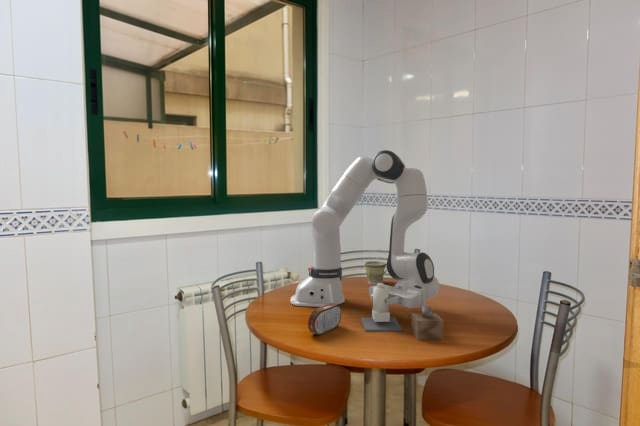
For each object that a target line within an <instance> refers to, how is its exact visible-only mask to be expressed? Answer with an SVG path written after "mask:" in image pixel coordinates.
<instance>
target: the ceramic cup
mask: <svg viewBox="0 0 640 426" xmlns="http://www.w3.org/2000/svg"><path fill="white" fill-rule="evenodd" d="M364 265H365V272H366V278H367V283H368V284H369V285H371V286H375V285H377V284H378V283H383V281H384V280H383V279H384V275H385V274H386V273H387V272H388V271H387V269H385V268H386V267H387V262H384V261H380V260H378V261H377V260H371V261H366V262H364Z"/></svg>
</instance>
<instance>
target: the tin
mask: <svg viewBox="0 0 640 426" xmlns="http://www.w3.org/2000/svg"><path fill="white" fill-rule="evenodd" d="M341 320H342V308H341V307H340V305H339V304H337V305H335V304H333V303H330V304H327V305H324V306H322V307H316V308H315V309H313V310H312V311H311V313H310V315H309V317H308V321H307V325H308V326H307V328H308V330H309V333H310V334H315V335H318V336H321V335H323V334H325V333H328V332H330V331H332V330H335V329H336V328H337V327H338V326H339V325H340V322H341Z"/></svg>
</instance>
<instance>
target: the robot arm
mask: <svg viewBox="0 0 640 426" xmlns="http://www.w3.org/2000/svg"><path fill="white" fill-rule="evenodd" d="M375 180H377V181H380V182H384V183H387V184H394V185H395V186H396V191H397V193H396V194H397V204H396V210H395V213H394V214H393V216H392V218H391V222H390V223H391V225H390V236H389V245H388V247H389V248H388V256H387V261H386V264H387V265H386V270H387V271H386V272H387V273H388V275H390V277H391V278H392V279H393V280H396V281H397V282H396V283H395V284H394V286H391V285H387V284H384V286H387V287H388V288H389V298H385V304H388V306H389V305H398V306H402V307H405V308H408V309H417V308H422V307H423V306H426V301H427V300H429V299H432V298H433V297H435V296H437V294H438V292H439V291H440V282H439V279H437V277H436V276H435V265H434V262H433V260H432V258H431V257H430V256H429V254H427V253H425V252H409V253H405V239H406V232H407V230H408V228H409V227H410V226H411V225H413V224H414V223H416V222H417V221H419V220H421V218H422V217H423V216H424V215H425V214H426V213H427V210H428V204H429V203H428V191H427V184H426V181H425V176H424V174H423V172H422V170H420V169H418V168H414V167H410V168H408V167H406V165H405V163H404V162H403V160H402V159H401V157H400V156H399V155H398V154H397V153H395V152H394V151H392V150H387V149H385V150H380V151H378V152H377V153H376V154H374V156H373V157H372V158H371V157H369V156H365V155H364V156H363V155H362V156H358V157H357V158H355V160H354V161H352V163H351V164H350V165H349V166H348V167H347V168H346V169H345V171H344V173H343V174H342V175H341V176H340V178H339V179H338V181H337V182H336V184H335V185H334V186H333V188H332V190H331V191H330V193H329V194H328V196H327V197H326V199H325V201H324V203H323V204H322V205H321V207H319V209H318V210H316V211H315V212H314V213H313V215H312V217H311V234H312V236H311V237H312V243H313V267H312V266H308V267H307V271H308V276H307V277H306V278H305V279H304V280H301V282H300V283H298V285H297V287H296V290H295V294H293V295H292V296H291V297H290V301H289V303H290V302H291V303H290V304H291V305H292V304H293V305H292V306H294V305H295V307H296V306H298V307H316V308H319V307H322V306H324V305H327V304H330V303H333V304H335V305H342V303H345V301H346V299H345V297H344V293H343V284H342V280H343V270H342V269H343V268H342V266H341V265H342V262H341V261H342V259H341V255H342V254H341V252H342V251H341V237H340V235H341V234H340V226H341V225H342V223H343V222H344V221H345V220H346V218H347V217H348V215H349V214H350V213H351V212H352V210H353V208H354V207H355V205H356V204H357V202H359V200H360V199H361V197H362V196H363V194H364V192H365V191H366V190H367V189H368V187H369V186H370V184H371V183H372V182H373V181H375ZM374 286H377V285H370V286H369V287H368V295H369V297H370V300H371V301H373V287H374Z"/></svg>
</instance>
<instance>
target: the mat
mask: <svg viewBox="0 0 640 426" xmlns="http://www.w3.org/2000/svg"><path fill="white" fill-rule="evenodd" d="M360 320H361V323H362V325H363V328H364V331H365V332H403V328H402V326H401V325H400V324H399V322H398V320H397V319H396V317H393V316H390V322H374V320H373V318H372V317H360Z"/></svg>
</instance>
